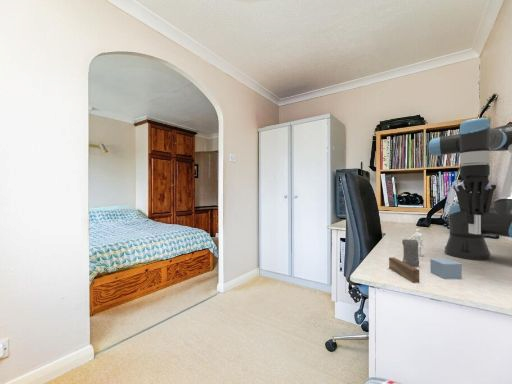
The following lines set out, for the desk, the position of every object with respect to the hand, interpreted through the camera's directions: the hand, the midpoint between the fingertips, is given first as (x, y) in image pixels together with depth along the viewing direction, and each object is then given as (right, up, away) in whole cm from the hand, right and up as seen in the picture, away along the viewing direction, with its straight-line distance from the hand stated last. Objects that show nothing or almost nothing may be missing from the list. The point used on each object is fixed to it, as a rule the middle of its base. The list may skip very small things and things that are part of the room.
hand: (474, 233), depth 81 cm
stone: (-15, -15, +11) cm, 24 cm away
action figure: (-3, -14, +25) cm, 29 cm away
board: (-24, -15, +1) cm, 28 cm away
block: (-10, -15, 0) cm, 18 cm away
